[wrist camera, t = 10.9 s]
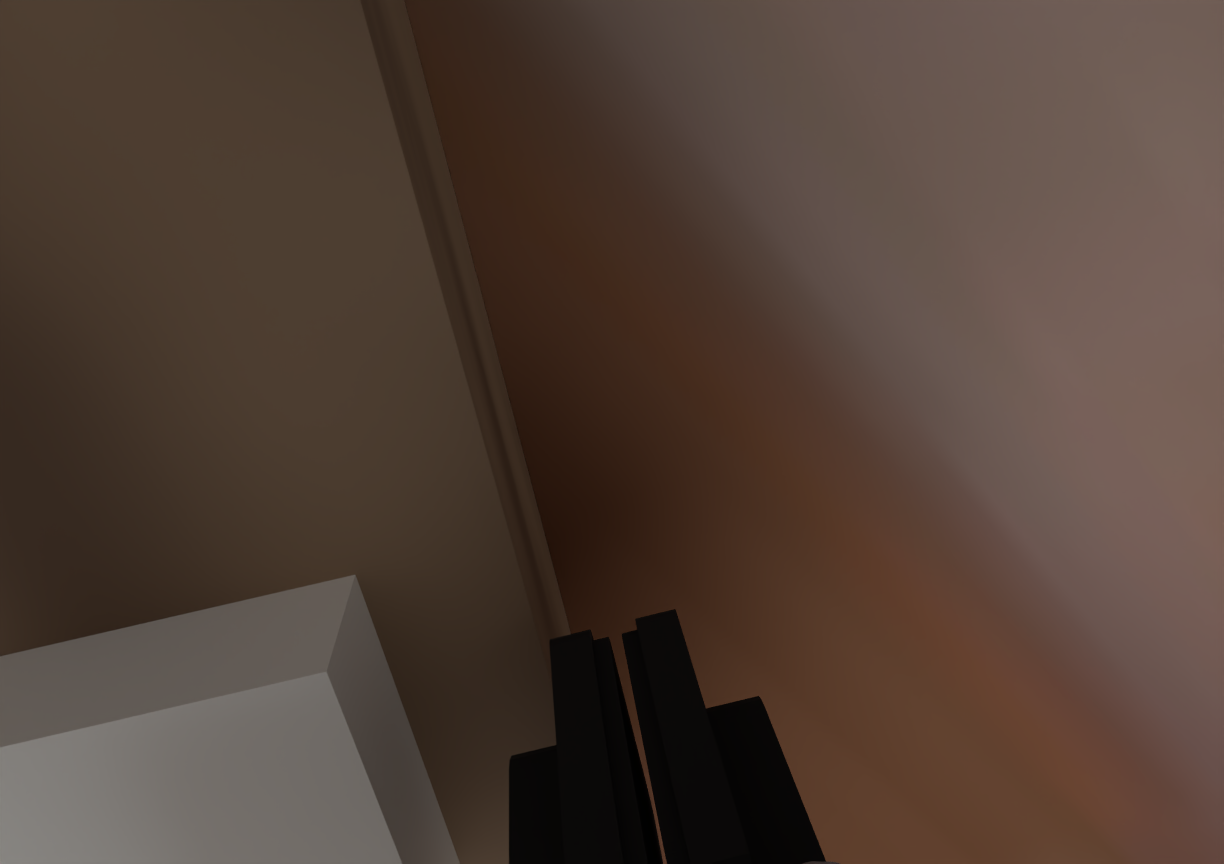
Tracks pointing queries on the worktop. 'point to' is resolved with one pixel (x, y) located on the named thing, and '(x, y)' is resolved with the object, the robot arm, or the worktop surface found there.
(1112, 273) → the worktop surface
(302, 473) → the tan slab
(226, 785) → the tile
